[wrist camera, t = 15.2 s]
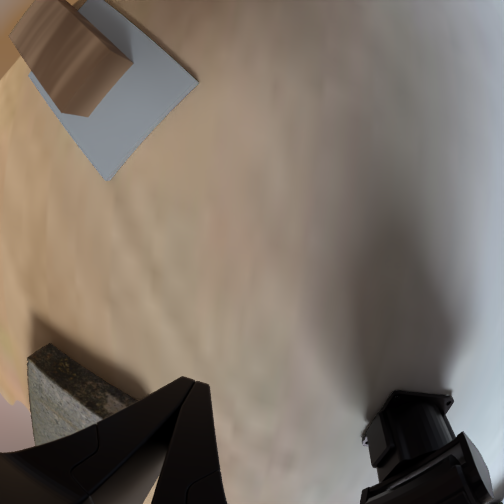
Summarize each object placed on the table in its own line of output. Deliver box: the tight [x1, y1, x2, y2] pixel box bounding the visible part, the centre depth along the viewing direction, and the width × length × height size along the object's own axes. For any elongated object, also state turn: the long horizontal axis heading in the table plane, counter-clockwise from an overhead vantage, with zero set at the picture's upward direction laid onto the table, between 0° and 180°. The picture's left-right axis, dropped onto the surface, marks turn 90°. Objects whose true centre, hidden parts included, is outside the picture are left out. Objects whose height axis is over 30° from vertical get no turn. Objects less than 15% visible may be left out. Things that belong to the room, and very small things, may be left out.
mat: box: [28, 0, 199, 181], centre depth 18 cm, size 14×9×1 cm, turn 42°
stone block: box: [27, 343, 137, 446], centre depth 25 cm, size 14×20×5 cm
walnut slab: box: [9, 0, 134, 117], centre depth 16 cm, size 3×5×12 cm
